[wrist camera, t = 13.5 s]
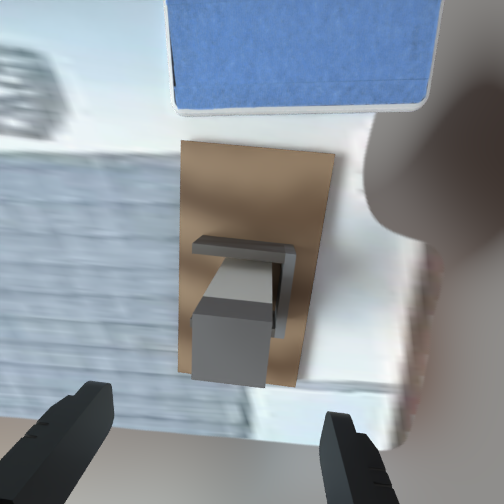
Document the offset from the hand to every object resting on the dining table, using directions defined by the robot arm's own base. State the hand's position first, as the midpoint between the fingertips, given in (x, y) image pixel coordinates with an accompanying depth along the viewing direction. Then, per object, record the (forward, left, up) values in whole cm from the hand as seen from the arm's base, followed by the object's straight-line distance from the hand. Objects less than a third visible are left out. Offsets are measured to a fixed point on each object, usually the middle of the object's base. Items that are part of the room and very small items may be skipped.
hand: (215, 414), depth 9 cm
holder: (0, 0, -15) cm, 15 cm away
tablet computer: (-20, +2, -16) cm, 25 cm away
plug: (0, 0, -14) cm, 14 cm away
